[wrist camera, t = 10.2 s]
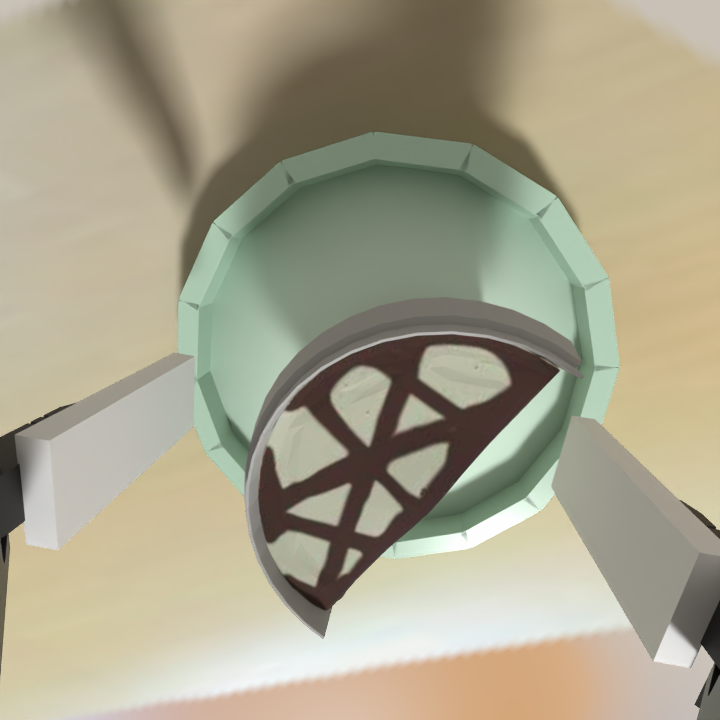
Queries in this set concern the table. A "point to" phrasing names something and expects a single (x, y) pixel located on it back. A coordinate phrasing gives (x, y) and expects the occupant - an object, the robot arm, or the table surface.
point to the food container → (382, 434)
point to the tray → (394, 284)
